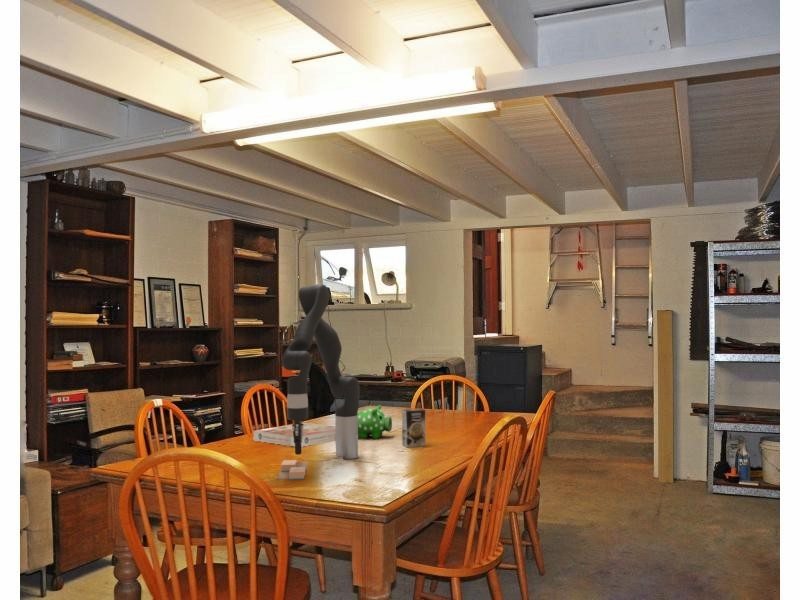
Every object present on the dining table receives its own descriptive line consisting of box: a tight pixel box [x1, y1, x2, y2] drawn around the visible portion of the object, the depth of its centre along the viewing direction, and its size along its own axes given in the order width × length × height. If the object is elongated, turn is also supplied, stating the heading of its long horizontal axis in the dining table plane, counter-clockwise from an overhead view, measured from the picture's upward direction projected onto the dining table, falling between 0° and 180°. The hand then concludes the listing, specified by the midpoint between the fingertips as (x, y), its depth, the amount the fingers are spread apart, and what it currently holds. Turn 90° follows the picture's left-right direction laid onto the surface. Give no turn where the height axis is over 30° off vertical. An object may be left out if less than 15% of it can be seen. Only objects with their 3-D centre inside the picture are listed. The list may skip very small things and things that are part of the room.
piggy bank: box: [358, 404, 393, 440], centre depth 328 cm, size 14×18×15 cm
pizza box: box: [252, 422, 336, 448], centre depth 325 cm, size 32×5×32 cm
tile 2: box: [289, 467, 306, 480], centre depth 240 cm, size 5×2×8 cm
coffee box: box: [401, 408, 426, 448], centre depth 304 cm, size 9×6×16 cm
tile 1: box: [280, 459, 298, 472], centre depth 253 cm, size 5×2×8 cm
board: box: [276, 461, 310, 480], centre depth 251 cm, size 10×28×1 cm, turn 4°
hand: (298, 454), depth 244 cm, fingers closed
